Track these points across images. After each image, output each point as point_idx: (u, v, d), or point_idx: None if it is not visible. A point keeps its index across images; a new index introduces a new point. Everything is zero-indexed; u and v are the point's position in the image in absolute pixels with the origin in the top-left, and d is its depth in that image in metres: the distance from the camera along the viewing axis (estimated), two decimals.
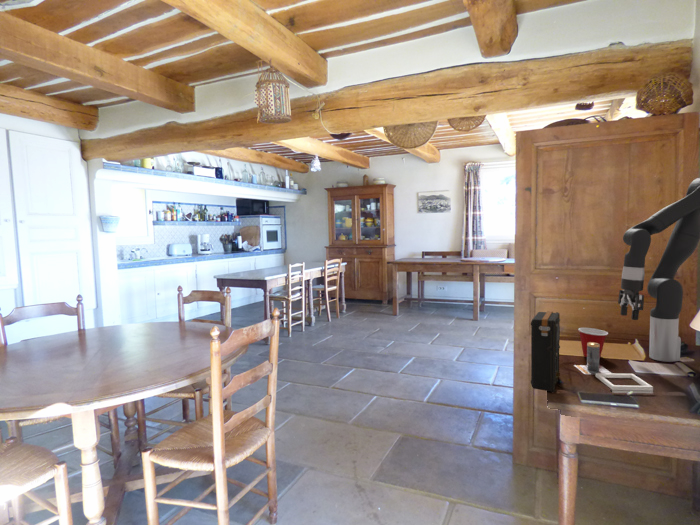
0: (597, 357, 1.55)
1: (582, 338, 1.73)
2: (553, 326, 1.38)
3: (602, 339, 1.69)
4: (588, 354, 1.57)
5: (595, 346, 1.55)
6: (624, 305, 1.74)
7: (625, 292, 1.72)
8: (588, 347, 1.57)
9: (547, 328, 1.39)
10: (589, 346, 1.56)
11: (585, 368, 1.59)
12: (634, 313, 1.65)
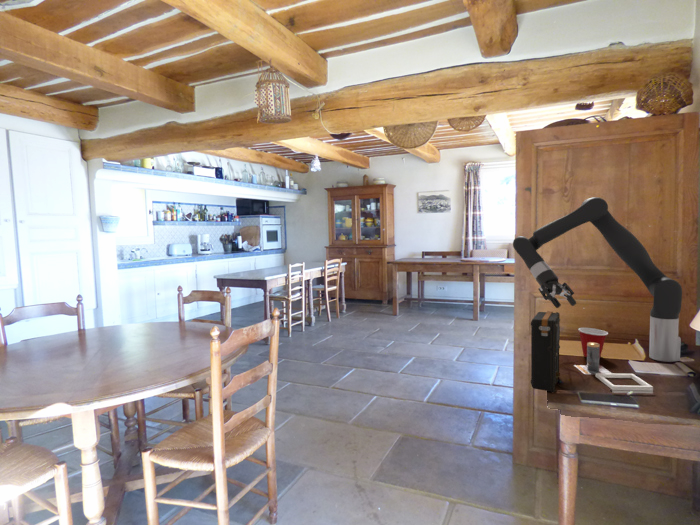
0: (597, 357, 1.55)
1: (582, 338, 1.73)
2: (553, 326, 1.38)
3: (602, 339, 1.69)
4: (588, 354, 1.57)
5: (595, 346, 1.55)
6: (567, 296, 1.71)
7: None
8: (588, 347, 1.57)
9: (547, 328, 1.39)
10: (589, 346, 1.56)
11: (585, 368, 1.59)
12: (552, 302, 1.67)
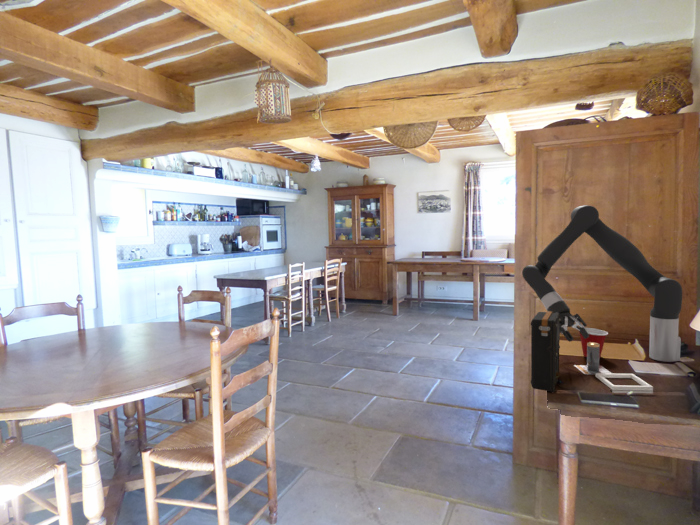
0: (597, 357, 1.55)
1: (582, 338, 1.73)
2: (553, 326, 1.38)
3: (602, 339, 1.69)
4: (588, 354, 1.57)
5: (595, 346, 1.55)
6: (580, 328, 1.66)
7: None
8: (588, 347, 1.57)
9: (547, 328, 1.39)
10: (589, 346, 1.56)
11: (585, 368, 1.59)
12: None
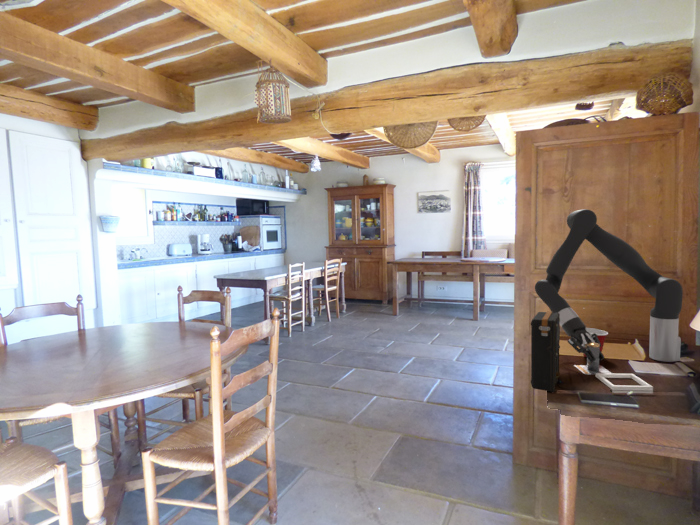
0: (597, 357, 1.55)
1: None
2: (553, 326, 1.38)
3: (602, 339, 1.69)
4: None
5: (595, 346, 1.55)
6: None
7: None
8: (588, 347, 1.57)
9: (547, 328, 1.39)
10: (589, 346, 1.56)
11: (585, 368, 1.59)
12: None
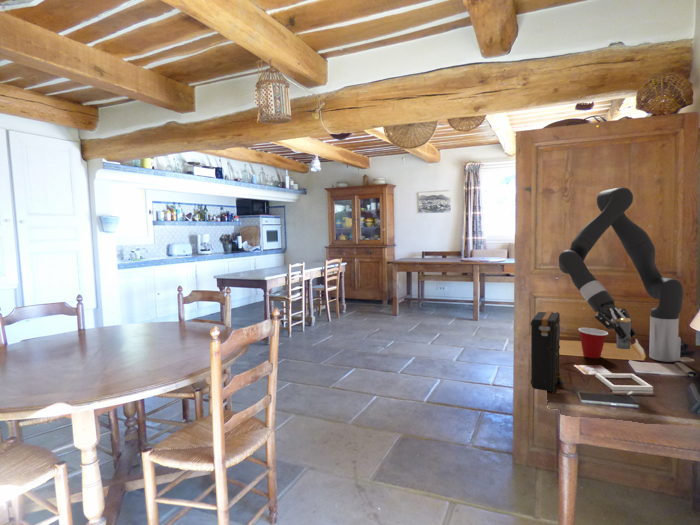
0: (628, 333, 1.40)
1: (582, 338, 1.73)
2: (553, 326, 1.38)
3: (602, 339, 1.69)
4: None
5: (626, 321, 1.40)
6: None
7: None
8: (618, 322, 1.42)
9: (547, 328, 1.39)
10: (619, 321, 1.41)
11: (585, 368, 1.59)
12: None
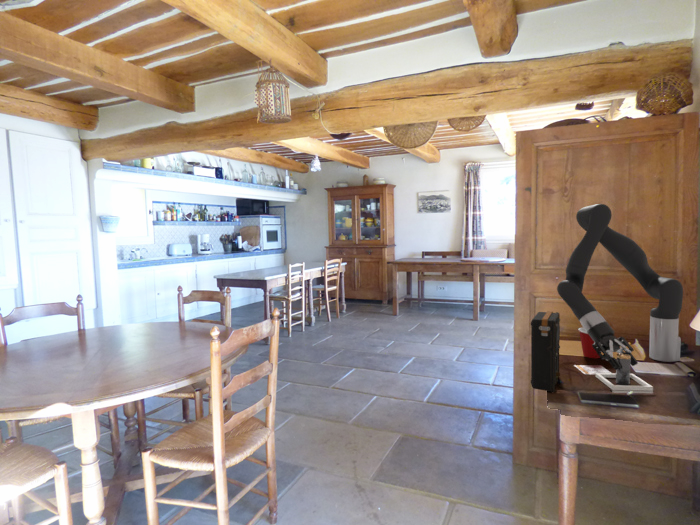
0: (628, 370, 1.41)
1: (582, 338, 1.73)
2: (553, 326, 1.38)
3: None
4: None
5: (626, 358, 1.41)
6: None
7: None
8: (618, 359, 1.43)
9: (547, 328, 1.39)
10: (619, 358, 1.42)
11: (585, 368, 1.59)
12: None
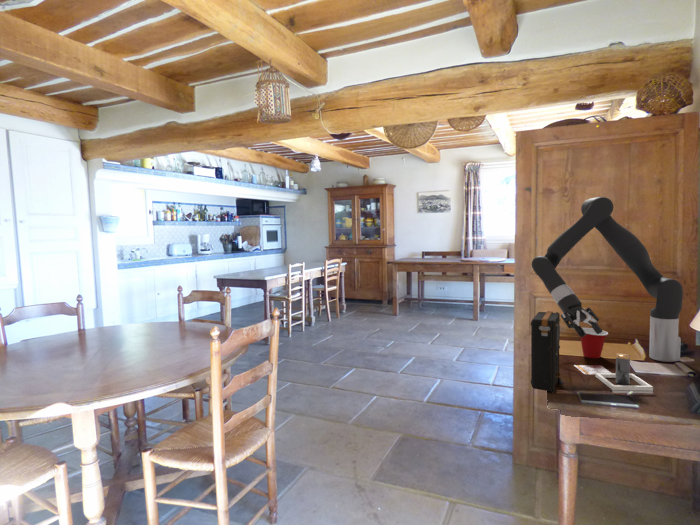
0: (627, 370, 1.42)
1: (582, 338, 1.73)
2: (553, 326, 1.38)
3: (602, 339, 1.69)
4: (617, 367, 1.43)
5: (625, 358, 1.41)
6: (592, 323, 1.58)
7: None
8: (617, 359, 1.43)
9: (547, 328, 1.39)
10: (618, 358, 1.42)
11: (585, 368, 1.59)
12: None
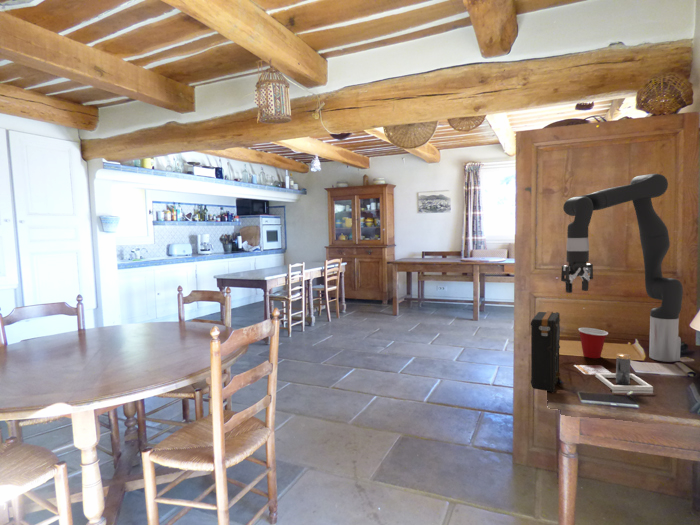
0: (628, 370, 1.42)
1: (582, 338, 1.73)
2: (553, 326, 1.38)
3: (602, 339, 1.69)
4: (617, 366, 1.43)
5: (626, 358, 1.41)
6: (584, 280, 1.62)
7: None
8: (618, 359, 1.43)
9: (547, 328, 1.39)
10: (619, 358, 1.42)
11: (585, 368, 1.59)
12: None
